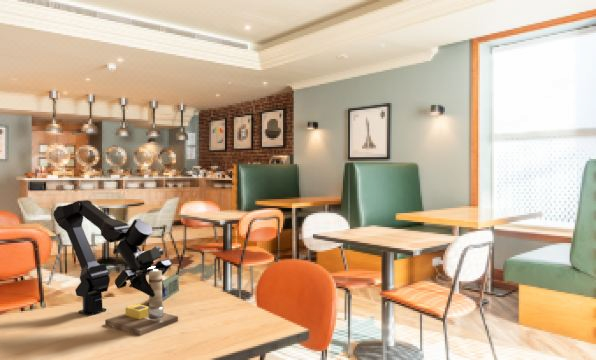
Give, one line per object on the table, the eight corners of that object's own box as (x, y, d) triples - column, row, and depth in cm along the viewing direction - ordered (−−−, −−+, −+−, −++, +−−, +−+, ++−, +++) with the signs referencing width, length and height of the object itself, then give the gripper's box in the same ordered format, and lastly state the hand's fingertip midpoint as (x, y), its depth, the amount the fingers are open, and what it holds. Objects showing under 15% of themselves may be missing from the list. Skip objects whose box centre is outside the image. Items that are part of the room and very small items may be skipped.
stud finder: (125, 315, 137) (125, 307, 137) (137, 311, 141) (137, 303, 141) (139, 319, 133) (139, 310, 133) (151, 315, 137) (151, 306, 137)
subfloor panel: (105, 324, 133) (105, 319, 133) (143, 311, 145) (143, 307, 145) (140, 335, 124) (140, 330, 124) (177, 321, 136) (177, 316, 136)
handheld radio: (180, 291, 171) (149, 311, 146) (172, 291, 171) (140, 311, 147) (179, 274, 171) (148, 292, 146) (172, 274, 171) (139, 292, 147)
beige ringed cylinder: (145, 318, 130) (145, 273, 130) (152, 314, 135) (151, 269, 134) (159, 319, 130) (159, 273, 130) (165, 314, 134) (165, 270, 134)
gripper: (121, 243, 125) (149, 285, 121) (167, 234, 142) (193, 271, 137) (102, 267, 129) (129, 309, 124) (150, 256, 146) (175, 292, 141)
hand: (158, 294), depth 132 cm, fingers closed on beige ringed cylinder, 4 cm apart
